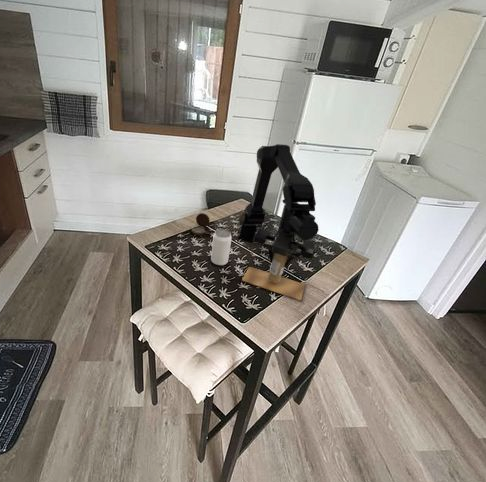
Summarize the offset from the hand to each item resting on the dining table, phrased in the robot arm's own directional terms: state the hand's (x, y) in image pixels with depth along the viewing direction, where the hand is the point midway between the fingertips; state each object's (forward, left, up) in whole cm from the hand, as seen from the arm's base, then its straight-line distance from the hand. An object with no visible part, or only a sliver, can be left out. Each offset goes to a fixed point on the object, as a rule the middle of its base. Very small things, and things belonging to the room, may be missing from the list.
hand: (278, 264), depth 92 cm
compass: (-36, +18, -8) cm, 41 cm away
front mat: (0, 0, -8) cm, 8 cm away
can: (-21, +2, -8) cm, 22 cm away
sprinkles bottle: (0, 0, -7) cm, 7 cm away
